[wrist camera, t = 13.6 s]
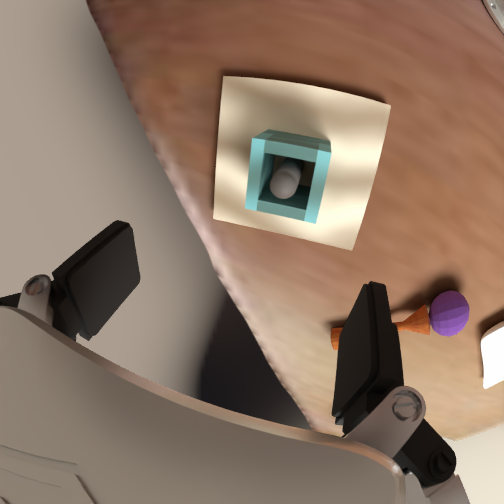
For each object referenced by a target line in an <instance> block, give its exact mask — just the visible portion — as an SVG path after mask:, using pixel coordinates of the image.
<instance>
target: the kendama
mask: <svg viewBox="0 0 504 504" xmlns="http://www.w3.org/2000/svg"><path fill="white" fill-rule="evenodd" d="M468 317H469V305H468V303H467V301H466V299H465V297H464V296H463V295H462V294H460V293H459V292H457V291H447V292H443V293H441V294H440V295H438V296H437V297H436V298H435V299H434V301H433V302H432V304H431V306H430V310H429V314H428V311H427V308H426V306H425V305H423V306H422V307H421V308H420V309H418V310H417V311H416V312H415V313H413V314H412V315H411V316H410V317H408V318H407V319H406V320H404V321H403V322H395V324H396V325H397V328H398V331H401V330H404V329H405V330H409V331H414V332H418V333H423V334H428V335H430V324H431V326H432V328H433V329H434V331H436V332H437V333H438V334H440V335H443V336H452V335H455V334H457V333H458V332H460V331H461V330H462V329H463V328H464V326H465V324H466V323H467V321H468ZM342 329H343V327H341V328H332V330H331V343H332V347H333V349H334V350H338V343H339V336H340V333H341V331H342Z"/></svg>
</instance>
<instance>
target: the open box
mask: <svg viewBox="0 0 504 504" xmlns="http://www.w3.org/2000/svg"><path fill="white" fill-rule="evenodd" d="M331 153H332V152H331V141H327V140H323V139H318V138H314V137H309V136H304V135H299V134H293V133H288V132H282V131H276V130H270V129H268V130H266V131H264V132H262V133H260V134H259V135H257V136H255V137H253V138H252V144H251V153H250V163H249V172H248V182H247V191H246V201H245V209H250V210H255V211H260V212H264V213H269V214H274V215H278V216H283V217H287V218H292V219H296V220H301V221H305V222H309V223H314V224H316V221H317V217H318V213H319V209H320V205H321V200H322V196H323V191H324V187H325V182H326V178H327V173H328V168H329V163H330V158H331ZM275 154H276V155H281V156H286V157H292V158H297V159H302V160H306V161H311V162H316V164H315V169H314V175H313V180H312V185H311V187H309V186H304V185H300V184H298V186H297V189H296V191H295V193H294V194H293V195H292V196H291V197H289V198H286V199H281V198H278V197H276V196H275V195H274V194H273V193H272V192H271V189H270V181H271V179H272V175H273V168H274V160H275Z"/></svg>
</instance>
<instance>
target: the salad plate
mask: <svg viewBox="0 0 504 504" xmlns="http://www.w3.org/2000/svg"><path fill="white" fill-rule="evenodd" d="M481 352H482V358H483V366H484V380H483V387H484V388H485V389H486V388H488V387H490V386H493V385H494V384H496V383H498V382H500V381H502V380H504V321H502V322H500V323H499V324H497V325H495V326H493V327H492V328H490V329H489V330H488V331H487V332H486V333H485V334H484V335H483V337H482V339H481Z"/></svg>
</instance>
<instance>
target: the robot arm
mask: <svg viewBox="0 0 504 504" xmlns="http://www.w3.org/2000/svg"><path fill="white" fill-rule="evenodd" d="M483 2H484V4H485V6H486V8H487V10H488V12H489V14H490V15H491V17H492V18H493V20H494V21H495V23H496V24H497V26H498V27H499V28H500V30H501V31H502V32H503V34H504V0H483ZM52 275H53V277H54V280H53V281H51V279H50V277H49V276H47V275H44V274H40V275H36V276H34V277H32V278H30V279H29V280H28V281H27V282H26V283H25V284H24V287H23V289H22V292H21V293H17V294H13V295H9V296H5V297H1V298H0V504H470V502H469V500H468V497H467V494H466V492H465V489H464V487H463V484H462V482H461V480H460V477H459V475H455V474H454V471H455V467H456V456H455V453H454V451H453V450H452V448H451V447H450V446H449V445H448V444H447V443H446V442H445V441H444V440H443V439H442V437H441V436H440V435H439V434H438V433H437V432H436V431H435V430H434V429H433V428H432V427H431V426H430V425H429V423H428V422H427V421H426V420H425V419H424V416H425V412H426V405H425V401H424V399H423V397H422V395H421V394H420V393H419V392H418V391H417V390H415V389H414V388H412V387H409V386H404V379H403V368H402V358H401V350H400V342H399V335H398V328H397V325H396V324H395V323H392V320H391V314H390V307H389V301H388V296H387V290H386V286H385V284H381V283H377V282H373V281H370V282H369V284H364V285H363V287H362V289H361V291H360V293H359V295H358V298H357V300H356V302H355V304H354V306H353V308H352V310H351V312H350V315H349V317H348V319H347V321H346V323H345V325H344V327H343V329H342V331H341V333H340V336H339V343H338V357H337V370H336V381H335V391H334V400H333V408H332V416H334V417H336V420H335V424H336V425H343V430H342V431H343V433H344V434H343V435H342V436H341V437H338V436H334V435H329V434H324V433H320V432H315V431H310V430H305V429H300V428H295V427H291V426H286V425H282V424H278V423H274V422H270V421H266V420H262V419H258V418H254V417H251V416H247V415H243V414H240V413H237V412H233V411H230V410H227V409H224V408H220V407H217V406H214V405H211V404H208V403H205V402H203V401H200V400H197V399H194V398H192V397H189V396H186V395H184V394H181V393H179V392H176V391H174V390H171V389H169V388H166V387H164V386H161V385H159V384H157V383H155V382H152V381H150V380H148V379H146V378H143V377H141V376H139V375H137V374H135V373H133V372H131V371H129V370H127V369H125V368H122V367H121V366H119V365H117V364H115V363H113V362H111V361H109V360H107V359H105V358H104V357H102V356H100V355H98V354H96V353H94V352H93V351H91V350H89V349H87V348H86V347H84V346H82V345H81V344H79V343H77V342H76V335H77V333H79V335H80V336H82V337H83V338H85V339H86V340H88V341H89V340H90V339H91V338H92V336H94V335H96V334H97V333H98V332H99V330H100V329H101V328H102V327H103V326H104V324H105V323H106V322H107V321H108V320H109V318H110V317H111V316H112V315H113V314H114V312H115V311H116V310H117V309H118V307H119V306H120V305H121V304H122V303H123V302H124V300H125V299H126V298H127V297H128V296H129V294H130V293H131V292H132V291H133V290H134V289H135V288H136V286H137V285H138V284H139V282H140V272H139V267H138V261H137V255H136V249H135V242H134V235H133V229H132V227H131V226H130V224H129V223H127V222H123V221H119V220H117V221H114V222H113V223H112V224H110V225H109V226H108V227H106V228H105V229H104V230H103V231H101V232H100V233H99V234H97V235H96V236H95V237H94V238H92V239H91V240H90V241H89V242H88V243H86V244H85V245H84V246H83V247H81V248H80V249H79V250H78V251H76V252H75V253H74V254H73V255H72V256H70V257H69V258H68V259H67V260H66V261H65V262H63V263H62V264H61V265H60V266H59V267H58V268H57V269H55V271H53V272H52Z"/></svg>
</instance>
